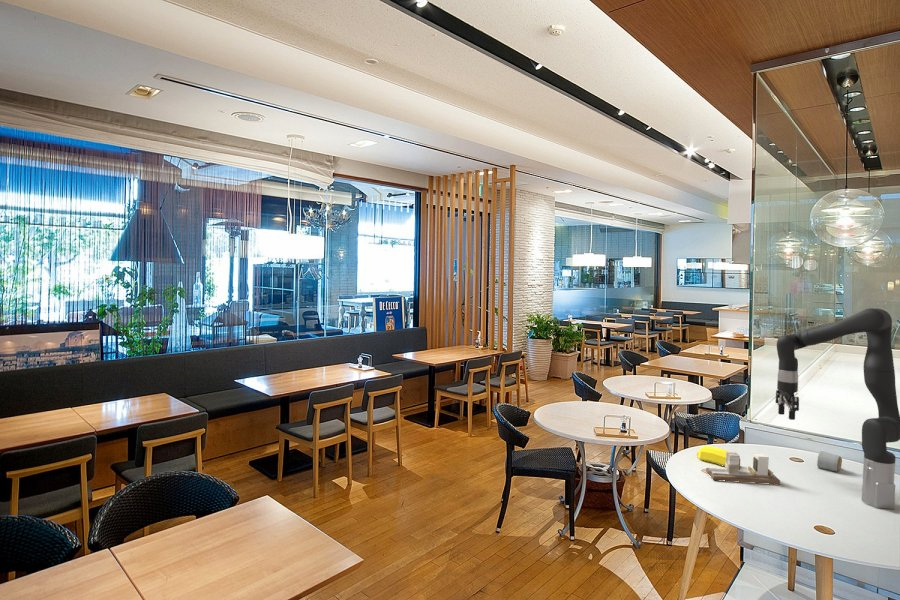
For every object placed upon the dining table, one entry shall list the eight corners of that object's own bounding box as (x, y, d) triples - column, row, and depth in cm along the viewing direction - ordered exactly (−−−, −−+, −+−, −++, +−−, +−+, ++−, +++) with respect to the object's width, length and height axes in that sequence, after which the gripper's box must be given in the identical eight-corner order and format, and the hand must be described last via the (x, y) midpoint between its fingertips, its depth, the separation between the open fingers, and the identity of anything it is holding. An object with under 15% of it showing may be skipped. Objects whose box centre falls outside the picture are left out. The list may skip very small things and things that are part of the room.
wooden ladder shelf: (779, 484, 214) (780, 459, 213) (713, 480, 218) (714, 456, 217) (769, 476, 223) (770, 452, 222) (706, 472, 227) (706, 448, 226)
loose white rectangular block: (767, 475, 217) (768, 457, 216) (756, 475, 218) (757, 456, 217) (763, 472, 221) (764, 453, 220) (752, 471, 221) (753, 453, 221)
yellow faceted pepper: (700, 455, 248) (693, 459, 243) (700, 442, 247) (693, 445, 242) (740, 466, 234) (734, 470, 229) (741, 452, 234) (734, 456, 229)
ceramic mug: (838, 474, 225) (839, 457, 225) (816, 469, 231) (817, 452, 231) (843, 468, 233) (844, 451, 232) (821, 463, 239) (822, 447, 238)
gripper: (806, 383, 216) (804, 421, 217) (788, 377, 230) (786, 412, 231) (787, 383, 217) (786, 421, 218) (770, 376, 231) (769, 412, 232)
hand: (786, 416), depth 224 cm, fingers open, 8 cm apart
